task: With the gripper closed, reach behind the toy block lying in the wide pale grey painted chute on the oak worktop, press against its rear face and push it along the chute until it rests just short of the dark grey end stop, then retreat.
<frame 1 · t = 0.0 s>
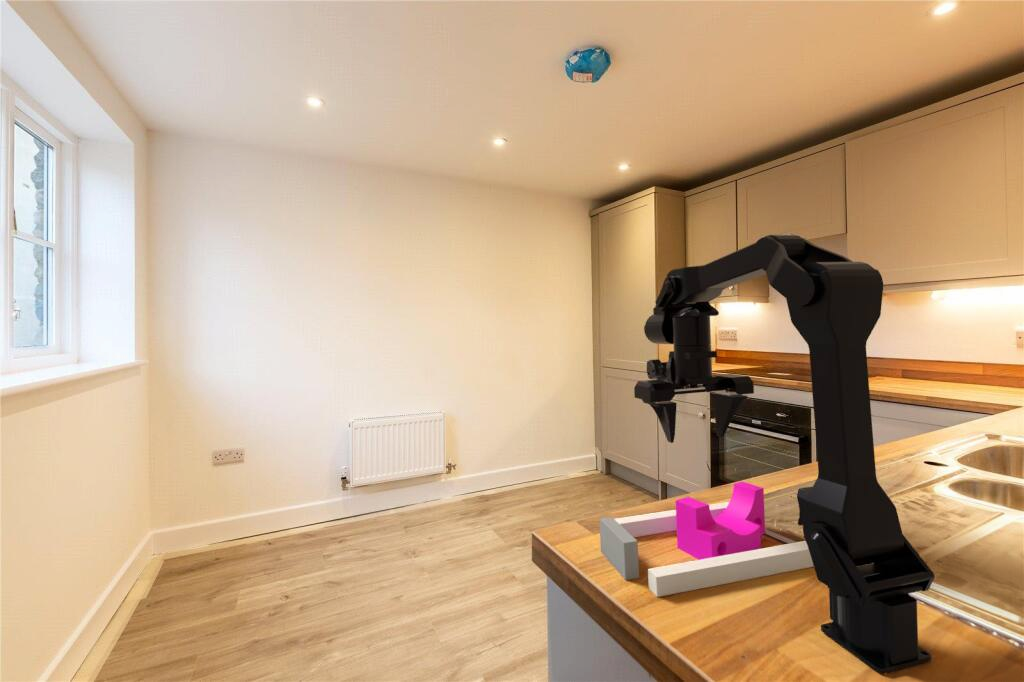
hand: (695, 439, 72), 15 cm above the table, tool pointing down, fingers open, 9 cm apart
toy block: (729, 546, 67), on the table
chute: (707, 548, 66), on the table
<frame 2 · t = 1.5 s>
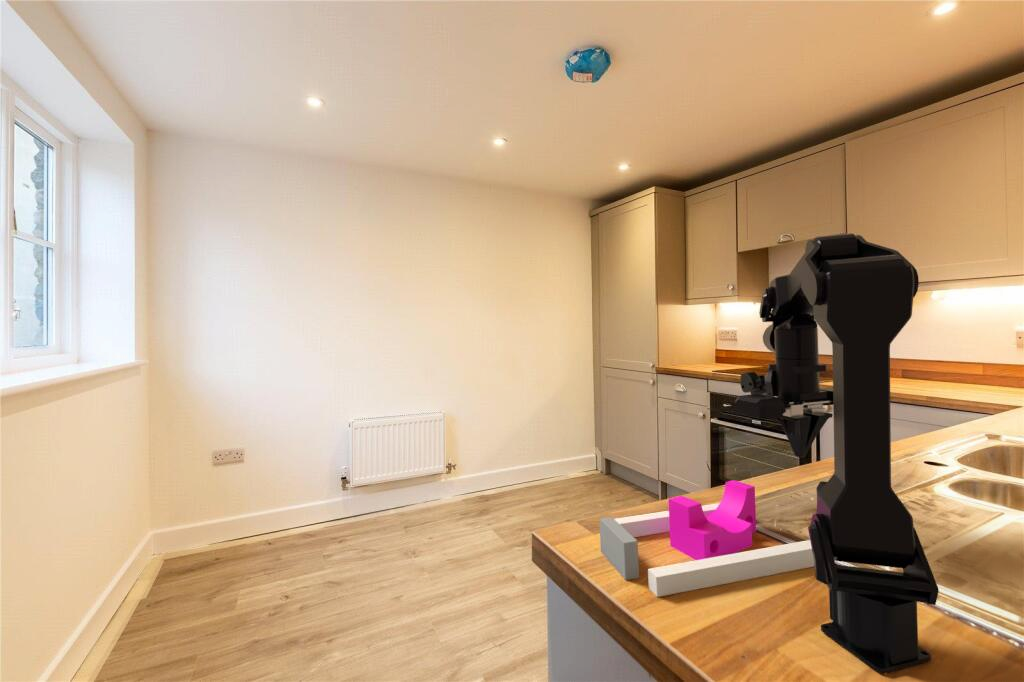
hand: (799, 456, 69), 12 cm above the table, tool pointing down, fingers closed
toy block: (721, 544, 68), on the table
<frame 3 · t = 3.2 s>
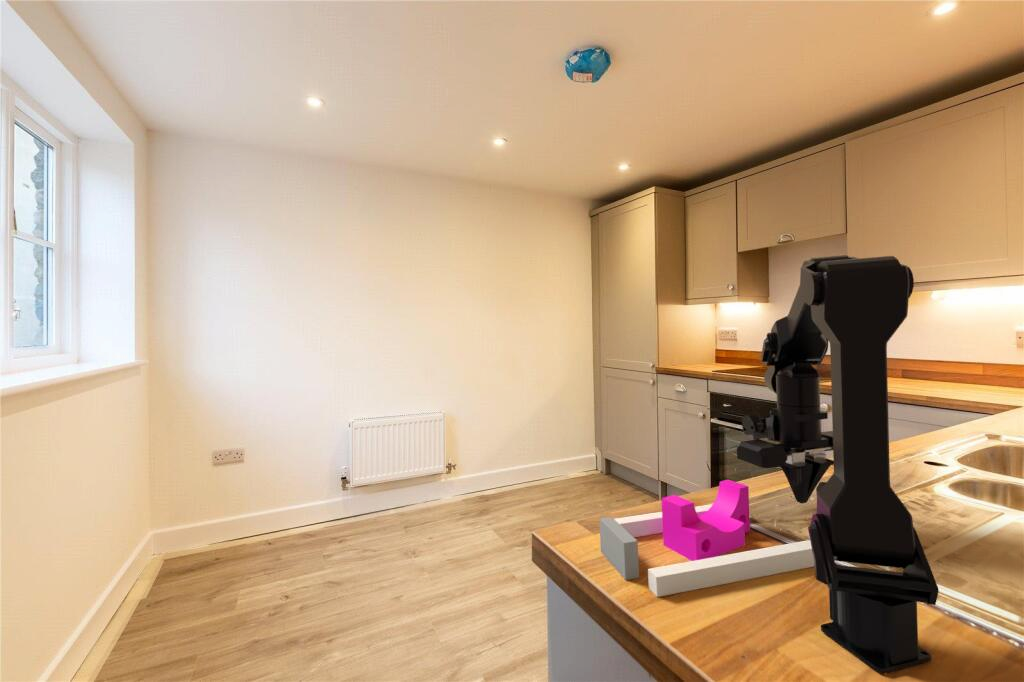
hand: (801, 502, 69), 5 cm above the table, tool pointing down, fingers closed
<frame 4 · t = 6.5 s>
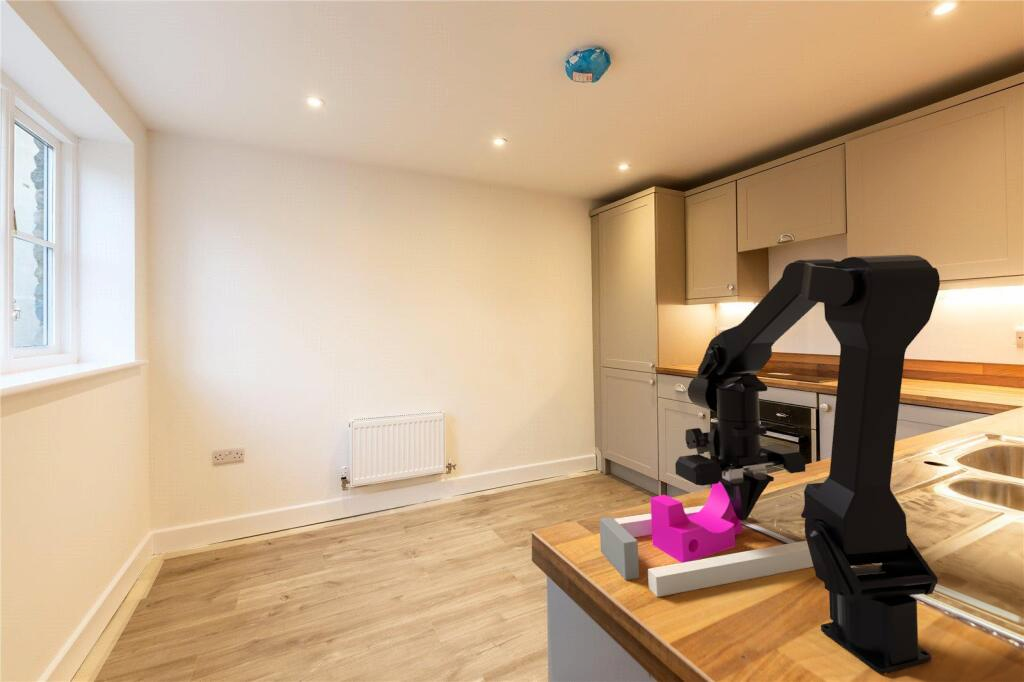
hand: (741, 519, 67), 3 cm above the table, tool pointing down, fingers closed
toy block: (704, 544, 68), on the table
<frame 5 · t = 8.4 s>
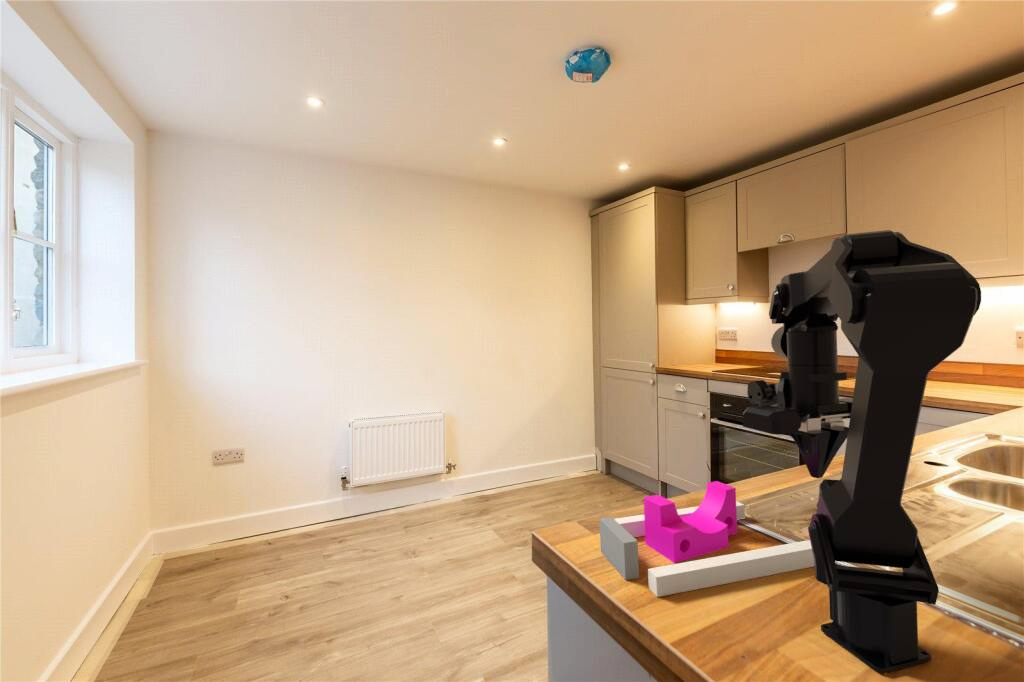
hand: (816, 477, 61), 12 cm above the table, tool pointing down, fingers closed
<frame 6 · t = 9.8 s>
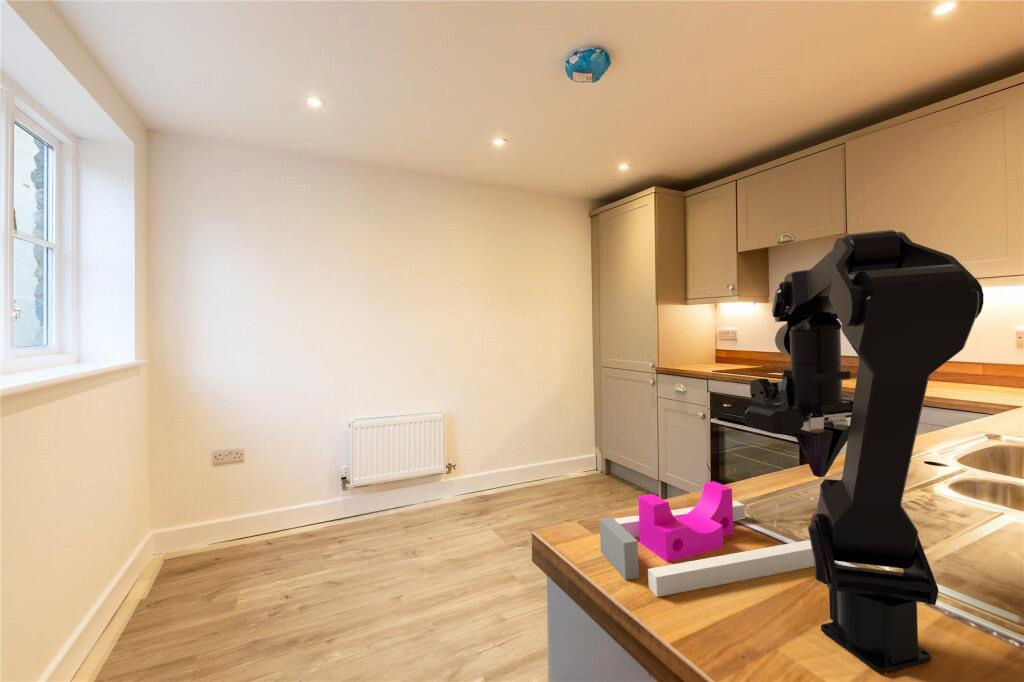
hand: (819, 476, 60), 12 cm above the table, tool pointing down, fingers closed
at the end: toy block inside the target area (4.0 cm from its centre), on the table; toy block moved 5.4 cm from its start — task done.
